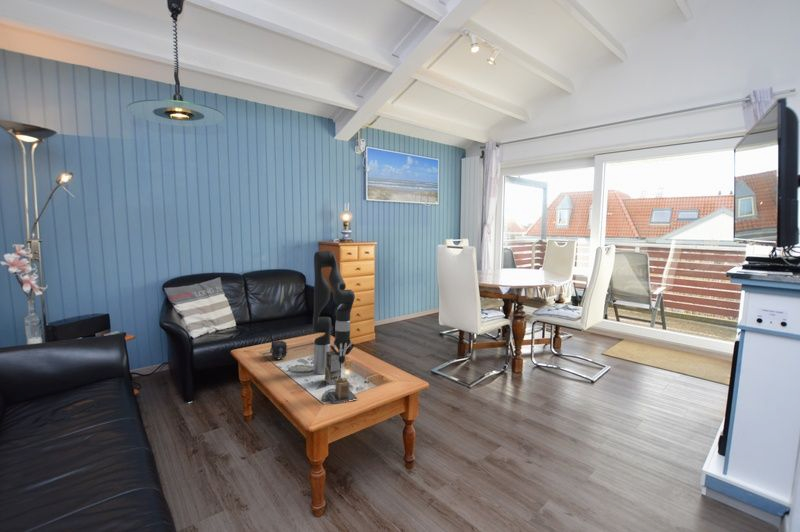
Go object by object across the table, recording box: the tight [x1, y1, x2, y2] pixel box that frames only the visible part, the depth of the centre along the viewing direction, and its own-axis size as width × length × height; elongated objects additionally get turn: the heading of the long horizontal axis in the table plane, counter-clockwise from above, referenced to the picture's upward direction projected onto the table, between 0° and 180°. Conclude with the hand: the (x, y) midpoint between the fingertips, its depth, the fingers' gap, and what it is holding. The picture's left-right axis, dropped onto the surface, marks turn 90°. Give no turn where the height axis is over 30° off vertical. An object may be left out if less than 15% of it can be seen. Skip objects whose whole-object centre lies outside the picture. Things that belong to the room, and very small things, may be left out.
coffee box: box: [324, 350, 342, 386], centre depth 203 cm, size 9×6×16 cm
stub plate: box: [326, 389, 358, 405], centre depth 181 cm, size 12×12×7 cm
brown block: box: [334, 376, 350, 399], centre depth 181 cm, size 7×5×8 cm
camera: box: [269, 340, 288, 359], centre depth 244 cm, size 11×11×15 cm
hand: (341, 362), depth 184 cm, fingers closed
